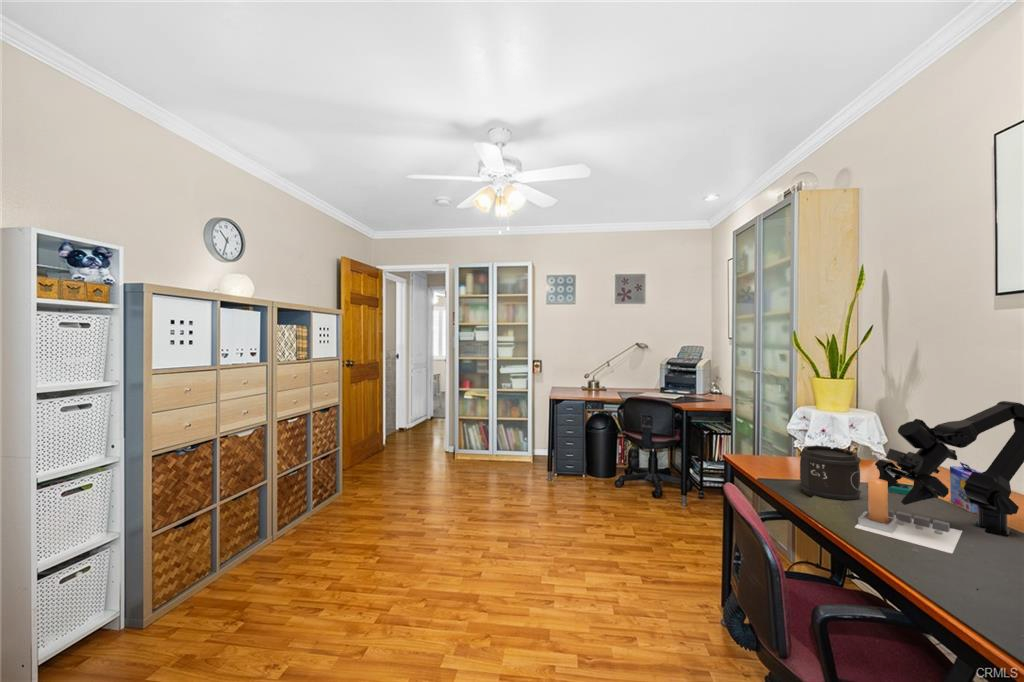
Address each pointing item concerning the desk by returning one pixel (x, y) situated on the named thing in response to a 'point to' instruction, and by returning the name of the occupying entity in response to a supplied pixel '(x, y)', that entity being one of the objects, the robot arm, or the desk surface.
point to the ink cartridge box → (961, 487)
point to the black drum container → (830, 472)
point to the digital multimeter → (900, 488)
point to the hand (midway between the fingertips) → (888, 497)
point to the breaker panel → (921, 531)
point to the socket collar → (878, 523)
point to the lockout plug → (878, 500)
